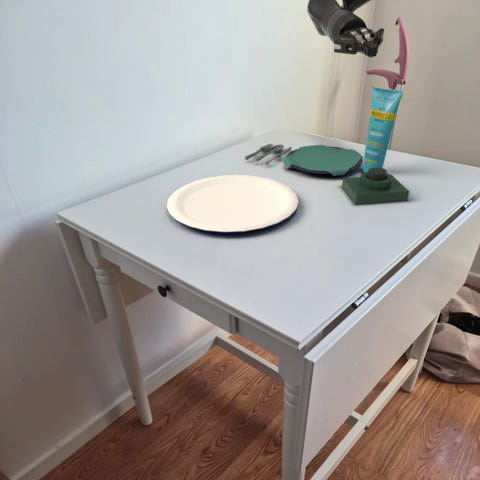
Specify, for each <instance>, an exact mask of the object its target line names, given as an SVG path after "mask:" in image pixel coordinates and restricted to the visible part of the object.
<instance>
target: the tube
mask: <svg viewBox="0 0 480 480" xmlns="http://www.w3.org/2000/svg"><path fill="white" fill-rule="evenodd" d="M371 88H372V90H371V102H370V111H369V119H368V126H367V127H368V128H367V134H366V142H365V149H364V155H363V160H362V167H361V171H362V173H364V172H367V171H368V170H369V169H370V168H383V169H384V165H385V160H386V156H387V152H388V148H389V143H390V140H391V136H392V132H393V129H394V124H395V121H396V117H397V113H398V109H399V108H400V107H399V106H400V103H401V99H402V97H403V94H404V90H402V89H389V88H383V87H378V86H374V85H372V86H371Z"/></svg>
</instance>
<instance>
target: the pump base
mask: <svg viewBox="0 0 480 480" xmlns="http://www.w3.org/2000/svg"><path fill="white" fill-rule="evenodd" d="M367 175H368V171H367V172H362V173H361V174H360V176H354V177H343V178H342V183H341V188H342V189H343V190H344V192H345V193H346V195H347V196H348V197H349V199H350V200H351V201H352V202H353V203H354V204H355V205H368V204H369V205H370V204H381V203H393V202H394V203H395V202H407V201H408V198H409V194H410V190H409V189H407V188H406V187H405V185H403V184H402V182H400V181H399V180H398V179H397V178H396V177H395V176H394V175H393V174H389V173H388V172H387V173H386V178H385V180H383V181H375V180H370V179H368V178H367Z"/></svg>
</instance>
